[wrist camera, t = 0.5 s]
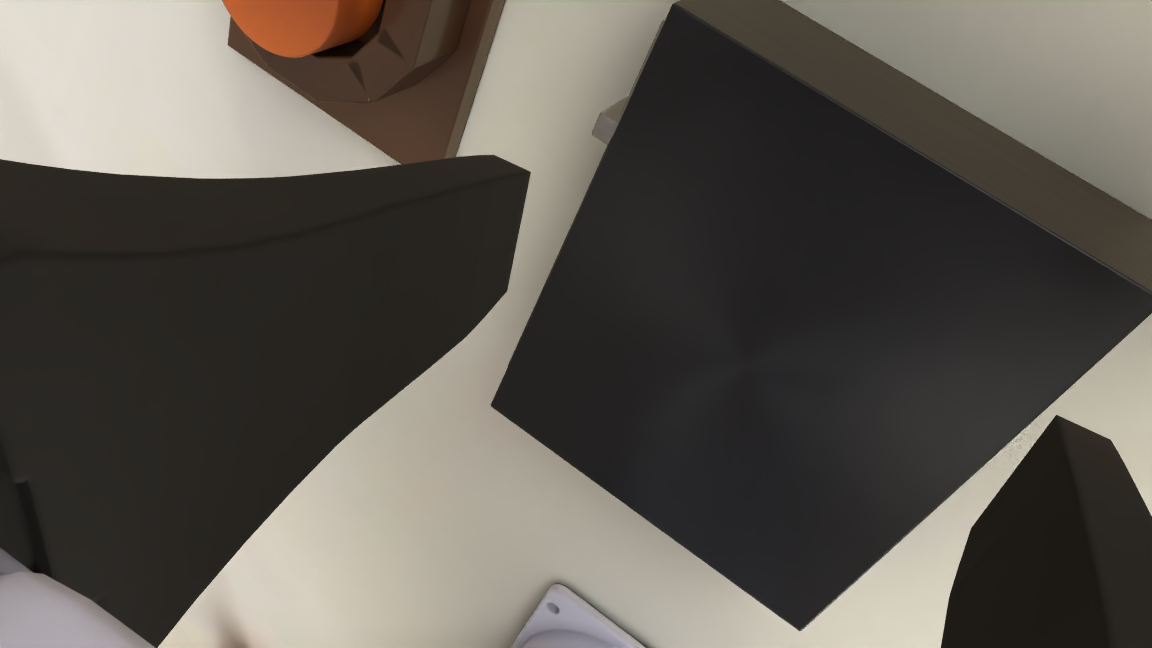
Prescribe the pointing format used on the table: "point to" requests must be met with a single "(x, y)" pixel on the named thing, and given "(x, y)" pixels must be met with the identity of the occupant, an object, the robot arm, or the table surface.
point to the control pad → (396, 74)
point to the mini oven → (810, 301)
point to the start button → (303, 23)
